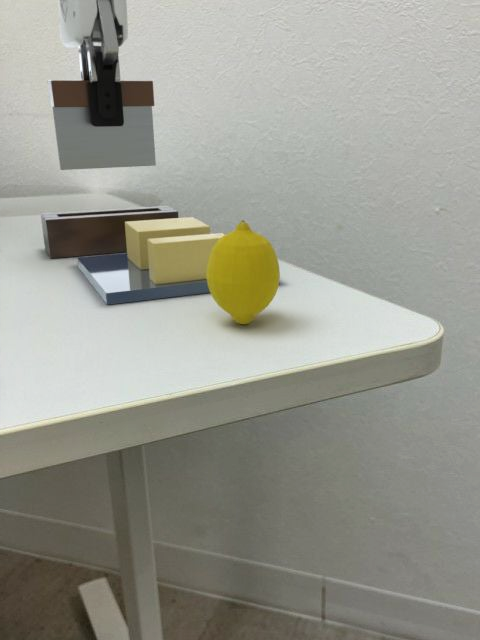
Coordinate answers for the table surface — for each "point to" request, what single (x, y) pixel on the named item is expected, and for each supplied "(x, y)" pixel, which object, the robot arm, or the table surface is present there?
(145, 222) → the butter block
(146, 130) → the scraper
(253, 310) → the fruit
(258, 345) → the table surface
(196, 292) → the butter dish
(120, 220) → the scraper holder
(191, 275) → the butter slice
